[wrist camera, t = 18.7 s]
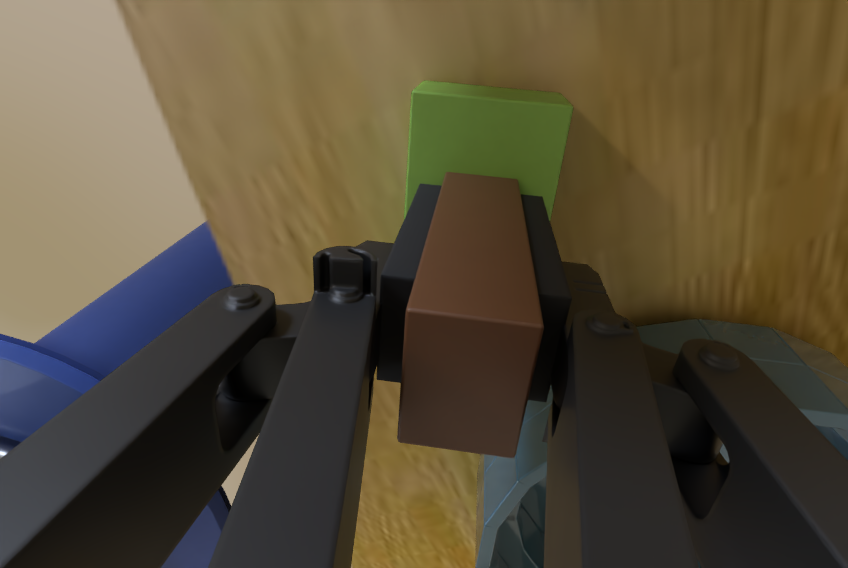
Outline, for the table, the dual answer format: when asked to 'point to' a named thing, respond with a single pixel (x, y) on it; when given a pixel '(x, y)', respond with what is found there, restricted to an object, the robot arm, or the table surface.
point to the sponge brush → (476, 262)
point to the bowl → (794, 375)
